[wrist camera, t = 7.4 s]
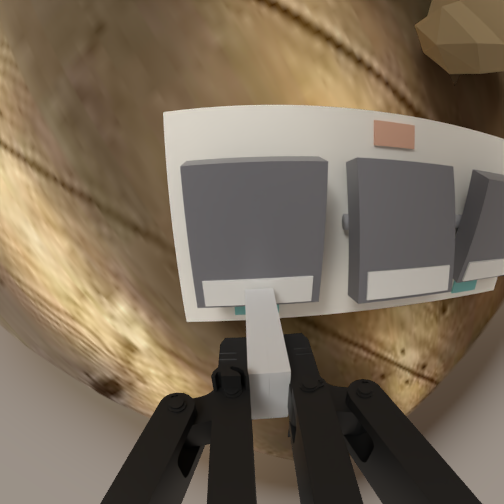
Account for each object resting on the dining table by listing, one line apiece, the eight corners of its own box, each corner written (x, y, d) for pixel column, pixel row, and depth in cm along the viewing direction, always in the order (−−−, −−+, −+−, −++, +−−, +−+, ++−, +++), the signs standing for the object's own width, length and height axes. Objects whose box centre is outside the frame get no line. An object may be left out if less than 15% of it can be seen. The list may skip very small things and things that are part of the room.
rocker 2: (472, 169, 15) (490, 180, 13) (523, 179, 15) (539, 189, 13) (444, 268, 19) (457, 284, 17) (497, 262, 19) (509, 275, 18)
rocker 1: (186, 161, 15) (179, 167, 13) (318, 156, 15) (329, 161, 13) (200, 291, 18) (197, 309, 17) (312, 285, 18) (319, 303, 17)
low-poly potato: (459, -19, 14) (400, -80, 8) (547, 10, 7) (517, -66, 1) (435, 86, 23) (371, 48, 17) (523, 133, 16) (500, 96, 10)
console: (179, 117, 20) (158, 110, 14) (483, 138, 20) (525, 145, 15) (195, 290, 25) (185, 332, 20) (465, 270, 26) (498, 297, 20)
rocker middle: (345, 162, 16) (357, 157, 14) (437, 169, 16) (454, 166, 15) (347, 295, 17) (359, 304, 16) (436, 285, 18) (452, 292, 16)
